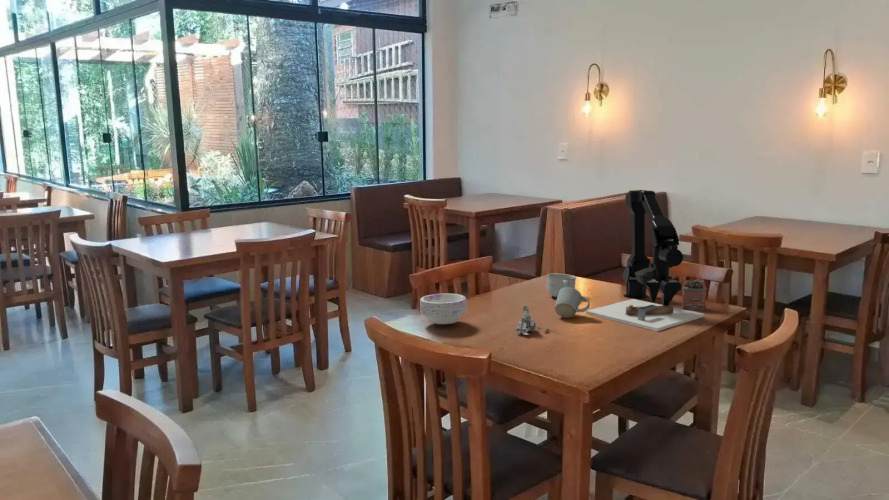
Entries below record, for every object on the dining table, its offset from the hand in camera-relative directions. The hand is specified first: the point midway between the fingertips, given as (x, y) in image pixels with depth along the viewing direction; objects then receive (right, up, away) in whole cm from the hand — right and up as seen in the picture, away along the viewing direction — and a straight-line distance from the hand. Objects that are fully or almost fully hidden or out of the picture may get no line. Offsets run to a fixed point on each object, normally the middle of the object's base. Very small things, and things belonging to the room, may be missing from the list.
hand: (658, 305), depth 229 cm
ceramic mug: (-31, -4, -5) cm, 31 cm away
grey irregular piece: (-46, -7, -19) cm, 50 cm away
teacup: (-29, +1, +24) cm, 38 cm away
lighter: (+13, -2, +4) cm, 14 cm away
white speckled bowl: (-74, -5, -7) cm, 74 cm away
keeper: (-8, -3, -11) cm, 14 cm away
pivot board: (-6, -3, -4) cm, 8 cm away
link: (-5, -2, -6) cm, 9 cm away
